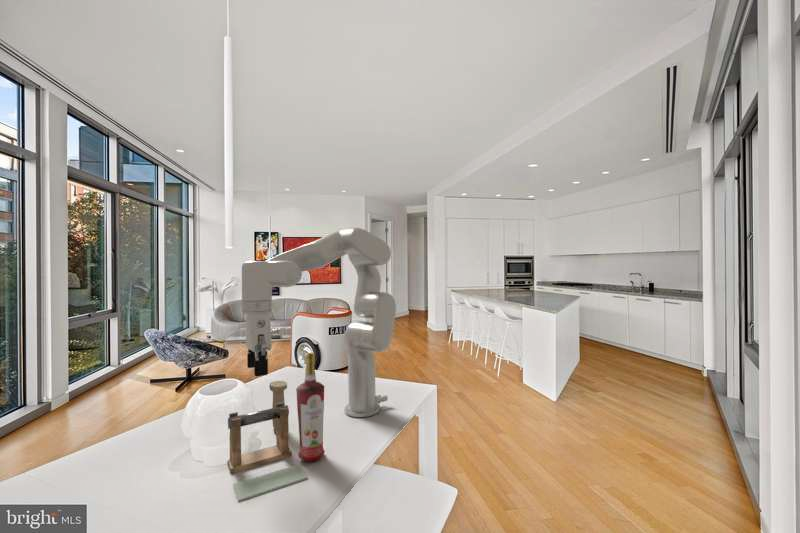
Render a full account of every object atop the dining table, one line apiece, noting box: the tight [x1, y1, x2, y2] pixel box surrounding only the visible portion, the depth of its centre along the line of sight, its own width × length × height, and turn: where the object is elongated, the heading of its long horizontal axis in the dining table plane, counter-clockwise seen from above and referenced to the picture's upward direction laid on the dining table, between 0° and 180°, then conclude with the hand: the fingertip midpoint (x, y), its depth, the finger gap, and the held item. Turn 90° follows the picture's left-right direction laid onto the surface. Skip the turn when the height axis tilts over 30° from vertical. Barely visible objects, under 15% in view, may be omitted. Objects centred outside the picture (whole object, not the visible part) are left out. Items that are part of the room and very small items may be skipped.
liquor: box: [296, 352, 325, 463], centre depth 97 cm, size 7×7×28 cm
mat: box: [233, 463, 308, 503], centre depth 87 cm, size 16×7×1 cm, turn 122°
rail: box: [227, 405, 290, 430], centre depth 97 cm, size 15×3×3 cm, turn 122°
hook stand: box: [226, 402, 293, 475], centre depth 97 cm, size 15×6×13 cm, turn 122°
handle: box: [268, 380, 288, 434], centre depth 114 cm, size 5×6×15 cm
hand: (257, 371), depth 97 cm, fingers open, 9 cm apart
